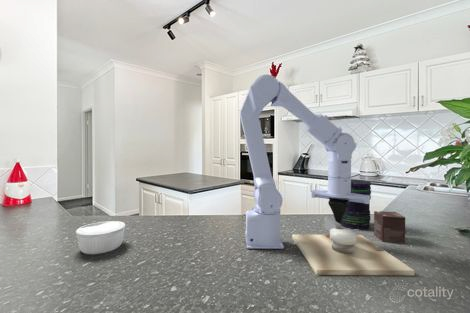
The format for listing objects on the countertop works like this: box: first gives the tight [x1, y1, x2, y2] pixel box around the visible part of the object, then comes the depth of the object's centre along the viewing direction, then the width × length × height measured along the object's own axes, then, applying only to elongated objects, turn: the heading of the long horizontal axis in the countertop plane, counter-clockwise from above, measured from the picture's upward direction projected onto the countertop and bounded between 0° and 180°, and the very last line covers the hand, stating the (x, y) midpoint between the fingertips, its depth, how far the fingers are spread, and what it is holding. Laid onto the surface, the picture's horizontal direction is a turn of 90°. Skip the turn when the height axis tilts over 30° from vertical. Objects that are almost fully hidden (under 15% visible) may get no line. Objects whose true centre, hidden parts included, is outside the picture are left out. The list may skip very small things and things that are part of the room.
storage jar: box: [341, 179, 372, 231], centre depth 79 cm, size 10×10×15 cm
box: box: [373, 210, 406, 244], centre depth 68 cm, size 6×6×7 cm
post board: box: [291, 233, 416, 276], centre depth 58 cm, size 20×20×3 cm
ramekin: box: [75, 220, 126, 255], centre depth 60 cm, size 11×11×5 cm
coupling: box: [323, 216, 358, 245], centre depth 61 cm, size 12×6×3 cm, turn 1°
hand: (338, 226), depth 64 cm, fingers closed
